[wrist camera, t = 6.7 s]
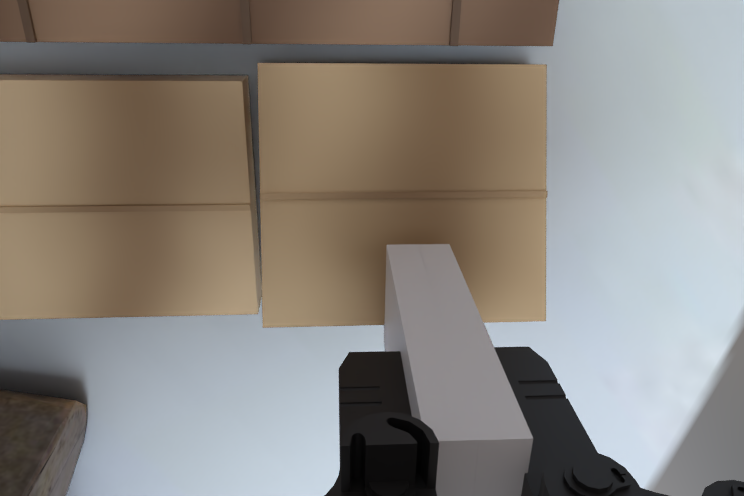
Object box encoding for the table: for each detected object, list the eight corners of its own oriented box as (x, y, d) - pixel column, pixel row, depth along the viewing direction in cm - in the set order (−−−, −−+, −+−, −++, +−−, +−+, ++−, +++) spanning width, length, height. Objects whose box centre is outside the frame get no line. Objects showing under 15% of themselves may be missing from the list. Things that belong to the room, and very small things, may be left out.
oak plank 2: (267, 319, 16) (262, 327, 15) (263, 74, 16) (256, 61, 15) (530, 313, 17) (546, 321, 15) (530, 75, 16) (547, 63, 15)
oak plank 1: (18, 299, 18) (-4, 321, 17) (-36, 74, 15) (-67, 80, 14) (262, 295, 18) (257, 315, 17) (248, 75, 16) (241, 81, 15)
